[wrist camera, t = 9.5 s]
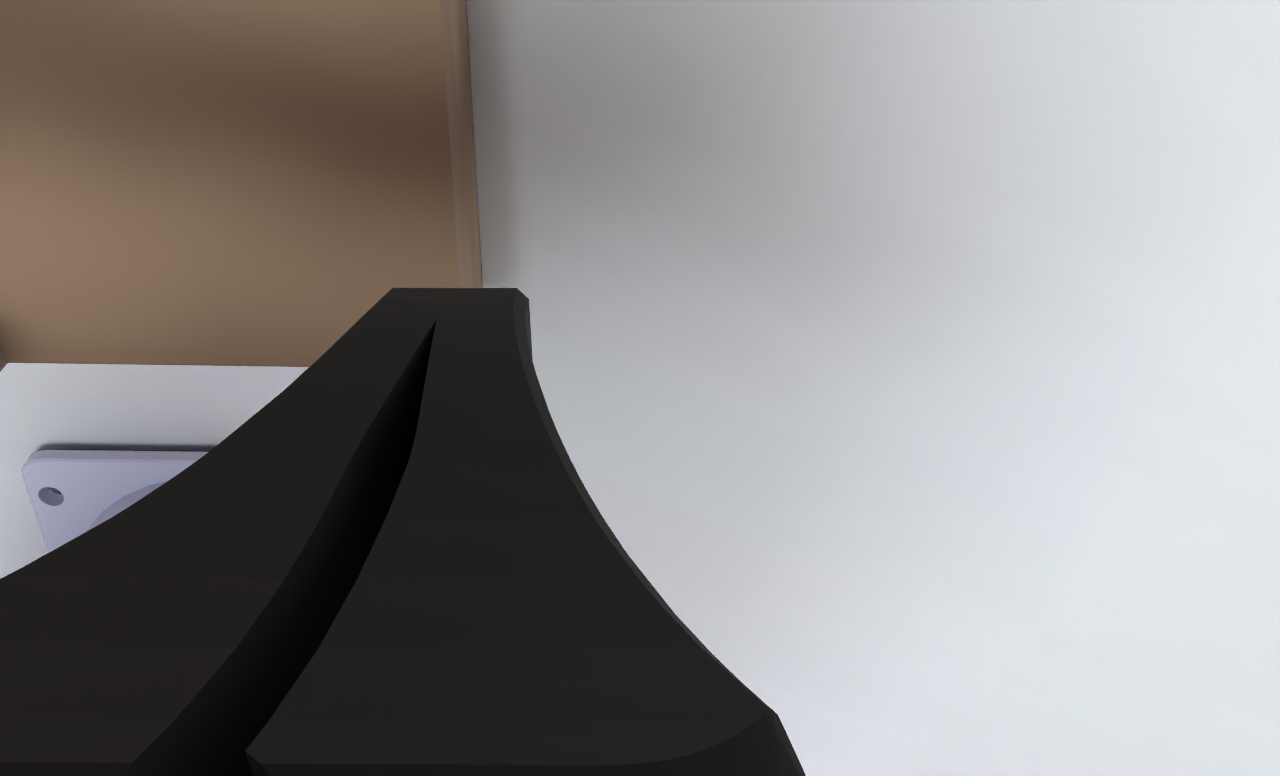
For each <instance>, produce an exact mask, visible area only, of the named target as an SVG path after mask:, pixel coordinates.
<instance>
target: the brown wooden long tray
mask: <svg viewBox="0 0 1280 776" xmlns="http://www.w3.org/2000/svg"><path fill="white" fill-rule="evenodd" d="M392 288H482V270H481V252H480V235H479V217H478V200H477V182H476V165H475V148H474V130H473V113H472V95H471V78H470V60H469V43H468V25H467V8H466V0H0V371H1V370H2V369H3V368H4V366H5V365H6V364H7V363H74V364H145V365H216V366H287V367H310V366H311V365H312V364H313V363H314V362H316V361H317V360H318V359H319V358H320V357H321V356H322V355H323V354H324V353H325V352H326V351H327V350H328V349H329V348H330V347H331V346H332V345H333V344H334V343H335V342H336V341H337V340H338V339H340V338H341V337H342V336H343V335H344V334H345V333H346V332H347V331H348V330H349V329H350V328H351V327H352V326H353V325H354V324H355V323H356V322H357V321H358V320H359V319H360V318H361V317H362V316H363V315H364V314H365V313H366V312H367V311H368V310H370V309H371V308H372V307H373V306H374V305H375V304H376V303H377V302H378V301H379V300H380V299H381V298H382V297H383V296H384V295H385V294H386V293H388V292H389V291H390V290H391V289H392Z"/></svg>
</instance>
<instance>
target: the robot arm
mask: <svg viewBox="0 0 1280 776" xmlns="http://www.w3.org/2000/svg"><path fill="white" fill-rule="evenodd" d="M22 477H23V480H24V483H25V486H26V489H27V492H28V494H29V497H30V500H31V503H32V506H33V509H34V512H35V515H36V518H37V520H38V523H39V526H40V529H41V532H42V535H43V538H44V541H45V544H46V546H47V549H48V552H49V553H48V554H46V555H44V556H42V557H40V558H39V559H37V560H35V561H33V562H32V563H30V564H28V565H26V566H24V567H23V568H21V569H19V570H17V571H15V572H13V573H11V574H9V575H7V576H5V577H3V578H1V579H0V776H805V773H804V771H803V768H802V766H801V764H800V762H799V760H798V757H797V755H796V753H795V751H794V749H793V747H792V744H791V742H790V740H789V738H788V736H787V734H786V731H785V729H784V727H783V725H782V723H781V721H780V719H779V717H778V715H777V714H776V713H775V712H774V711H773V710H772V709H771V708H770V707H768V706H767V705H766V704H765V703H764V702H763V701H762V700H761V699H760V698H758V697H757V696H756V695H755V694H754V693H753V692H752V691H751V690H749V689H748V688H747V687H746V686H745V685H744V684H743V683H742V682H741V681H740V680H739V679H738V678H737V677H735V676H734V675H733V674H732V673H731V672H730V671H729V670H728V669H727V668H726V667H725V666H724V665H723V664H722V663H721V662H720V661H719V660H718V659H717V658H716V657H715V656H714V655H713V654H712V653H711V652H710V651H709V650H708V649H707V648H706V647H705V646H704V645H703V644H702V643H701V641H700V640H699V639H698V638H697V637H696V636H695V635H694V634H693V633H692V632H691V631H690V630H689V629H688V627H687V626H686V625H685V624H684V623H683V622H682V621H681V620H680V619H679V618H678V617H677V616H676V615H675V613H674V612H673V611H672V610H671V608H670V607H669V606H668V605H667V603H666V602H665V601H664V600H663V598H662V597H661V596H660V595H659V593H658V592H657V591H656V590H655V588H654V587H653V586H652V585H651V583H650V582H649V581H648V580H647V578H646V577H645V576H644V575H643V573H642V572H641V571H640V569H639V568H638V567H637V566H636V564H635V563H634V562H633V561H632V559H631V558H630V557H629V556H628V554H627V553H626V551H625V550H624V549H623V547H622V546H621V544H620V543H619V541H618V540H617V538H616V537H615V535H614V534H613V532H612V531H611V529H610V528H609V526H608V525H607V523H606V522H605V520H604V519H603V517H602V515H601V514H600V512H599V510H598V509H597V507H596V505H595V504H594V502H593V500H592V499H591V497H590V495H589V494H588V492H587V490H586V488H585V487H584V485H583V483H582V481H581V479H580V477H579V476H578V474H577V472H576V470H575V468H574V466H573V464H572V462H571V460H570V458H569V456H568V454H567V451H566V449H565V447H564V445H563V443H562V441H561V438H560V436H559V434H558V432H557V430H556V427H555V425H554V422H553V420H552V418H551V415H550V413H549V410H548V407H547V404H546V402H545V399H544V396H543V393H542V390H541V387H540V384H539V381H538V379H537V376H536V372H535V369H534V365H533V362H532V345H531V328H530V312H529V299H528V298H527V297H526V296H525V295H524V294H523V293H522V292H520V291H519V290H518V289H517V288H392V289H391V290H390V291H389V292H388V293H386V294H385V295H384V296H383V297H382V298H381V299H380V300H379V301H378V302H377V303H376V304H375V305H374V306H373V307H372V308H371V309H370V310H368V311H367V312H366V313H365V314H364V315H363V316H362V317H361V318H360V319H359V320H358V321H357V322H356V323H355V324H354V325H353V326H352V327H351V328H350V329H349V330H348V331H347V332H346V333H345V334H344V335H343V336H342V337H341V338H340V339H338V340H337V341H336V342H335V343H334V344H333V345H332V346H331V347H330V348H329V349H328V350H327V351H326V352H325V353H324V354H323V355H322V356H321V357H320V358H319V359H318V360H317V361H316V362H314V363H313V364H312V365H311V366H310V367H309V368H308V369H307V370H306V371H305V372H304V373H302V374H301V375H300V376H299V377H298V378H297V379H296V380H295V381H294V382H293V383H292V384H291V385H289V386H288V387H287V388H286V389H285V390H284V391H283V392H282V393H280V394H279V395H278V396H277V397H276V398H274V399H273V400H272V401H271V402H270V403H268V404H267V405H266V406H265V407H263V408H262V409H261V410H260V411H259V412H257V413H256V414H255V415H254V416H253V417H251V418H250V419H249V420H248V421H246V422H245V423H244V424H243V425H242V426H240V427H239V428H238V429H237V430H236V431H234V432H233V433H232V434H231V435H229V436H228V437H227V438H226V439H225V440H223V441H222V442H221V443H220V444H218V445H217V446H216V447H215V448H213V449H212V450H211V451H209V452H180V451H98V450H42V451H37V452H35V453H33V454H32V455H31V456H30V457H29V458H28V460H27V461H26V463H25V464H24V466H23V468H22ZM48 487H51V488H55V489H57V490H58V491H60V492H61V493H62V495H61V494H56V493H54V492H52V491H51V490H49V488H48Z"/></svg>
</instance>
